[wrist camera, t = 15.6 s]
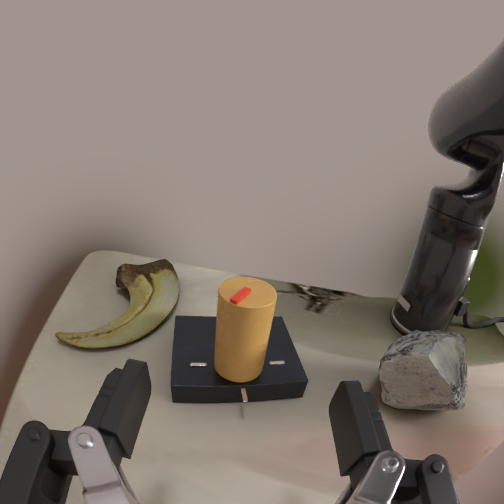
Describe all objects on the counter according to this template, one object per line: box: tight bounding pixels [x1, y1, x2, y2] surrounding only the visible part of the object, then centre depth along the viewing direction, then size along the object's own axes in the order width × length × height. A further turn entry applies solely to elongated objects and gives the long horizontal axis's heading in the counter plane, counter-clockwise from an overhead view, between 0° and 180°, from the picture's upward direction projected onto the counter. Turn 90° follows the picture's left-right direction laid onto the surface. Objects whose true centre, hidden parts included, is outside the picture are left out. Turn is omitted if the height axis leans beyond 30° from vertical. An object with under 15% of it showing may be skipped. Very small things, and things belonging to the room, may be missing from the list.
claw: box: [55, 259, 179, 348], centre depth 33 cm, size 20×10×3 cm, turn 171°
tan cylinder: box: [214, 277, 277, 382], centre depth 23 cm, size 4×4×8 cm
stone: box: [378, 330, 467, 411], centre depth 22 cm, size 10×10×10 cm
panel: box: [171, 316, 308, 403], centre depth 26 cm, size 12×12×3 cm
